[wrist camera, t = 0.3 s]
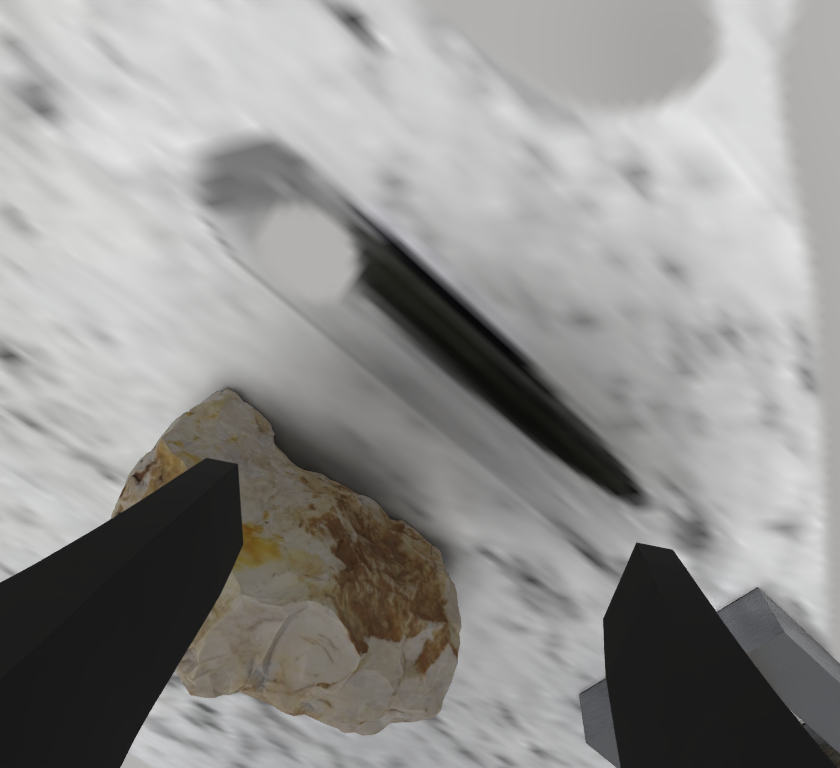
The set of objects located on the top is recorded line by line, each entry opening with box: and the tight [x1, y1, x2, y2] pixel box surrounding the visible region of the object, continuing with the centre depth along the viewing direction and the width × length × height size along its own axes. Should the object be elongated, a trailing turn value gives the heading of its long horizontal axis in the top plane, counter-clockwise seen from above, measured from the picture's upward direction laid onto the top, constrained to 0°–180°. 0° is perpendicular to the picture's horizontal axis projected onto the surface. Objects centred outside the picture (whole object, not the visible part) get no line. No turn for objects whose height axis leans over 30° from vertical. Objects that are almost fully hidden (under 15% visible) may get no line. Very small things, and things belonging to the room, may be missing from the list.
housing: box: [579, 588, 840, 768], centre depth 23 cm, size 9×9×2 cm
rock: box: [111, 389, 461, 735], centre depth 20 cm, size 12×7×10 cm, turn 49°
